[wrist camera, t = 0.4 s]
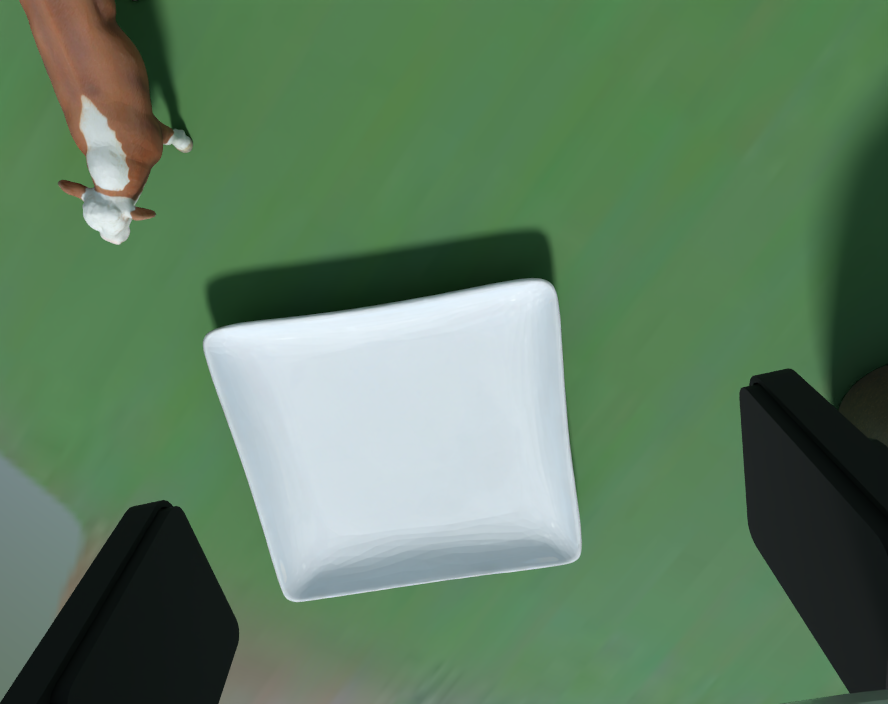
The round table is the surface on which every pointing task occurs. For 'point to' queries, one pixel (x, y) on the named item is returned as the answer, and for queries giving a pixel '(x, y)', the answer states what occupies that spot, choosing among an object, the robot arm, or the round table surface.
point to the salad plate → (405, 438)
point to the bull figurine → (102, 107)
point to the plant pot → (869, 405)
